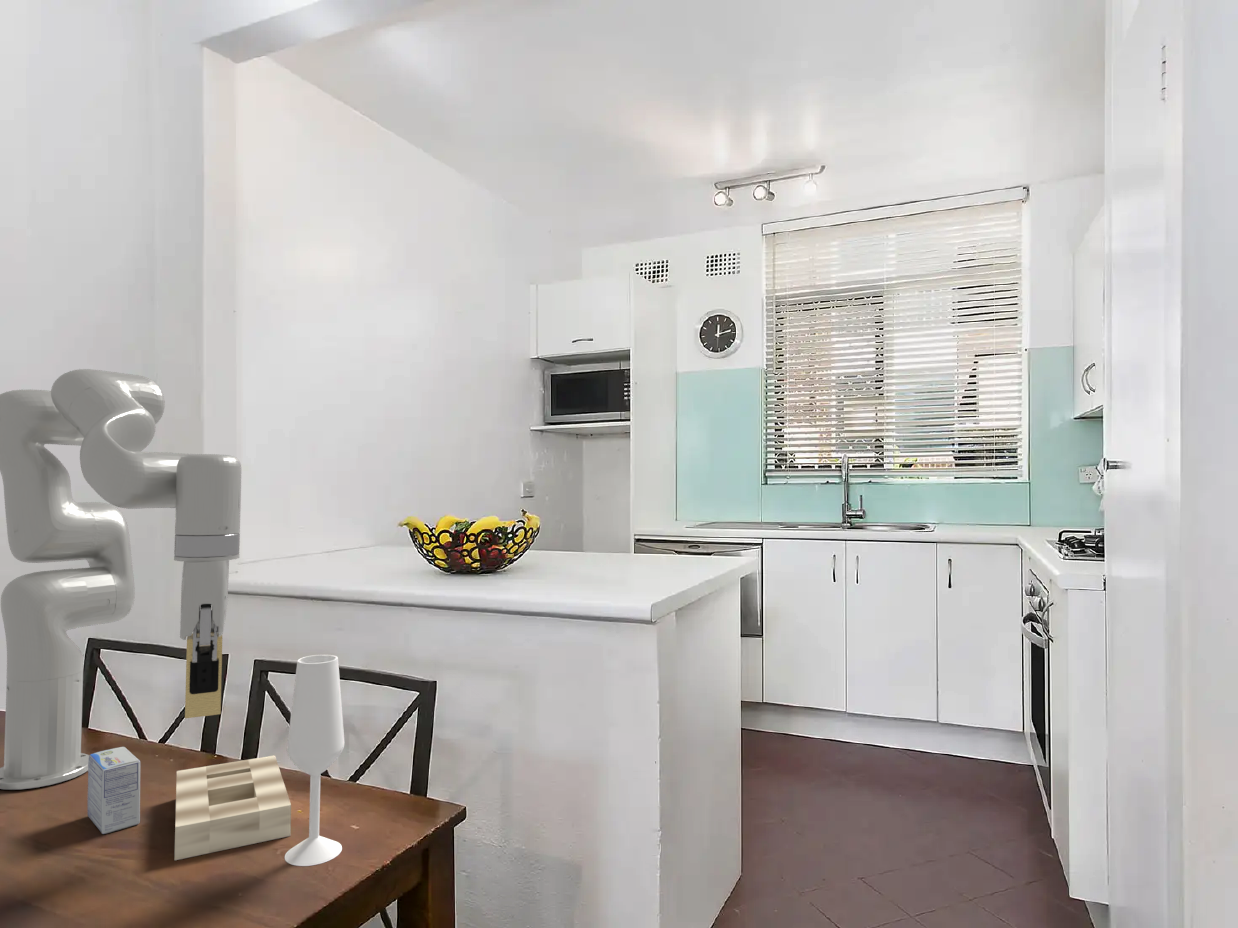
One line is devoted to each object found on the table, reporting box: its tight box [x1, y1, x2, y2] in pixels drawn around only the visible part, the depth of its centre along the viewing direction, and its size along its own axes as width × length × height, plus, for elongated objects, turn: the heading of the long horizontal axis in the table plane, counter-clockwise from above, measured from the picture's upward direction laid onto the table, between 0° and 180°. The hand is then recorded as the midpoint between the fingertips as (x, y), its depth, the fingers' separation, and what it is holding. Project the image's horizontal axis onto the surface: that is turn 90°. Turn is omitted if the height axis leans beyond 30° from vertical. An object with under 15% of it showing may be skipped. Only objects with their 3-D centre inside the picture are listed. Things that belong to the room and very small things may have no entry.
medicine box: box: [87, 746, 141, 835], centre depth 101 cm, size 8×4×9 cm, turn 47°
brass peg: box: [184, 632, 223, 719], centre depth 97 cm, size 4×4×10 cm
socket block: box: [174, 755, 292, 861], centre depth 102 cm, size 20×13×4 cm, turn 30°
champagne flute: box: [284, 654, 345, 867], centre depth 93 cm, size 7×7×24 cm
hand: (204, 686), depth 97 cm, fingers closed on brass peg, 4 cm apart
